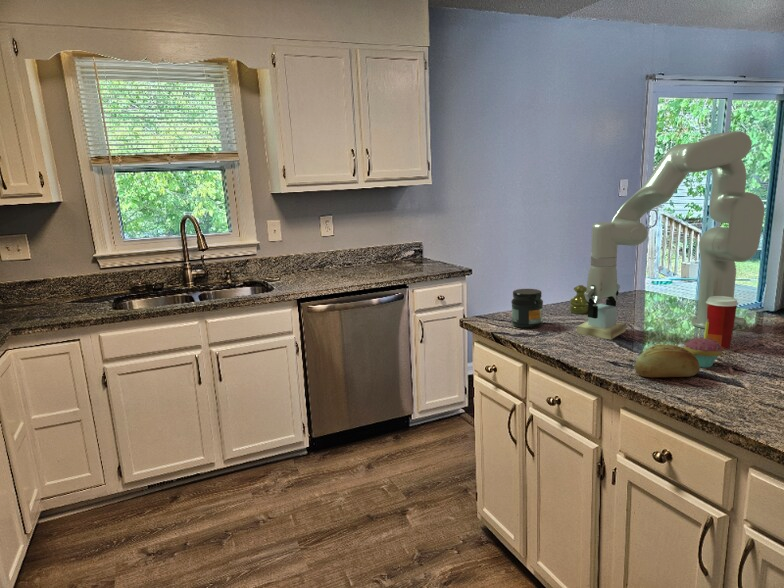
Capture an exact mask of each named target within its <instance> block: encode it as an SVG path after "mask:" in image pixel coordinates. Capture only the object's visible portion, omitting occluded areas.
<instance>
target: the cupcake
mask: <svg viewBox="0 0 784 588" xmlns="http://www.w3.org/2000/svg"><path fill="white" fill-rule="evenodd" d="M708 326H709V322H708V319H707V322H706V327H705V328H704V336H703V337H694V338H690V339H689V340H688V341H686V342H685V344H684V347H683V348H684V349H686V350H688V351H689V352H691V353H692V354H693V355H694V356H695V357H696V359H697V360H698V363H699V366H700V368H712V367H713V365H714V363H715V361H716V359H717V358H718V356H721V355H723V349H722V347H721V345H720V344H719V343H718V342H716V341H714V340H711V339H708V338H707V334H708Z"/></svg>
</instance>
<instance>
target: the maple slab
mask: <svg viewBox="0 0 784 588" xmlns="http://www.w3.org/2000/svg"><path fill="white" fill-rule="evenodd" d="M626 327H627V324H626V323H625V322H624V323H623V322H617V321H616V325H614V326H611V327H609V328H606V329H604V328H600V327H595V326H591V325H588V320H587V321H585V322H583V323H581V324H578V325H577V326H576V333H577V334H578V335H583V336H588V337H594V338H599V339H605V340H613V339H615V338H616V337H618V336H620V335H621V334H623V333H625V332H626Z"/></svg>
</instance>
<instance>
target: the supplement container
mask: <svg viewBox="0 0 784 588" xmlns="http://www.w3.org/2000/svg"><path fill="white" fill-rule="evenodd" d="M542 296H543V295H542V290H540V289H538V288H537V289H536V288H518V289H515V290H513V291H512V297H513V298H512V300H511V301H510V302H511V324H512V325H513V326H514V327H516V328H518V329H519V328H520V329H535V328H536V329H537V328H540V327H541V326H543V322H544V319H543V316H544V315H543V312H544V311H543V310H544V308H543V306H544V301H543V299H542Z"/></svg>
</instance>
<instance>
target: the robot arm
mask: <svg viewBox="0 0 784 588" xmlns="http://www.w3.org/2000/svg"><path fill="white" fill-rule="evenodd" d="M751 149H752V139H751V137H750V136H749V134H747V133H745V132H743V131H738V130H737V131H736V130H735V131H728V132H719V133H712V134H709V135H707V136H704V137H702V138H701V139H700V140H699V141H696V142H688V143H687V142H686V143H681V144H675V145H674V146H672V147H671V148H669V150H668V151H666V153H665V154H664V156H663V157H662V158H661V159H660V162H659V163H658V164H657V166H656V167H655V169H654V170H653V172H652V174H651V175H650V176H649V178H648V179H647V181H646V182H645V183H644V185H643V186H642V187H641V188H639V190H636V192H635V193H634V194H633V195H632V196H630V198H628V199H627V200H626V201H625V202H624V203H623V204H622V205H621V206H620V208H619V209H618V211H617V212H616V214H615V215H614V217H613V218H612V220H611V221H605V222H604V221H601V222H600V221H599V222H595V223H593V225H592V226H591V243H590V244H591V245H590V246H591V249H590V267H589V270H588V275H587V282H586V287H587V291H586V292H585V294H584V296H585V299H586V302H587V305H588V313H587V317H588V318H589V317H590V318H595V319H596V318H598V306H596V305H597V304H599V301H600V300H603V299H606V300H605V305H610V306H615V307H617V300H618V295H619V294H620V292H619V291H620V288H621V285H620V284H618V271H617V264H618V246H631V247H632V246H633V247H634V246H635V247H636V246H639V245H641V244H642V243H644V242H645V241H646V240H647V238H648V236H649V235H648V234H649V233H648V228H647V227H646V226H645V224H643V223H642V222H640V221H639V220H640V219H641V218H642V217H644V215H645V214H647V213H648V212H649V211H651V210H653V209H655V208H657V207H659V206H661V205H664V204H665V203H667V202H668V201H669V200H670V199H671V198H672V197H673V196H674V195H675V192H677V189H678V188H679V187H680V185H681V184H682V182H683V181H684V179H686V177H687V176H688V174H689V173H700V172H705V171H708V170H709V171H711V172H712V186H711V187H712V188H711V192H710V193H711V194H710V200H709V210H708V213H709V217H710V218H711V220H713V221H715V222H718V223H721V224H728V227H727V226H726V227H725V226H717V227H712V228H709V229H706V231H705V232H704V233H703V234H702V235H701V236H700V239H699V248H698V249H699V255H700V275H699V288H698V289H699V290H698V301H697V302H698V303H697V314H696V315H697V316H696V317H693V318H691V319H690V320H691V325H692V326H694V327H697V328H700V329H705V327H706V322H707V303H706V301H707V299H708V298H709V297H711V296H726V297H732V298H735V297H734V296H735V288H736V286H735V285H736V279H737V267H736V263H735V262H737V263H739V262H740V263H742V262H743V263H744V262H746V261H749V260H751V259H753V257H754V256H755V255H756V254H757V252H758V249H759V246H760V241H761V235H762V229H763V223H764V219H765V205H764V201H763V200H762V198H761V197H760V196H759V195H757V194H755V193H753V192H746V186H747V184H746V182H747V170H746V169H747V168H746V165H745V163H744V161H743V159H745V158H746V156H747V155H749V153H750V151H751ZM736 314H737V313H735V320H734V327H733V330H734V329H736V328H738V326H744V327H745V326H746V324H747V319H746V318H744V317H739V316H738V317H737V316H736Z"/></svg>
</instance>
